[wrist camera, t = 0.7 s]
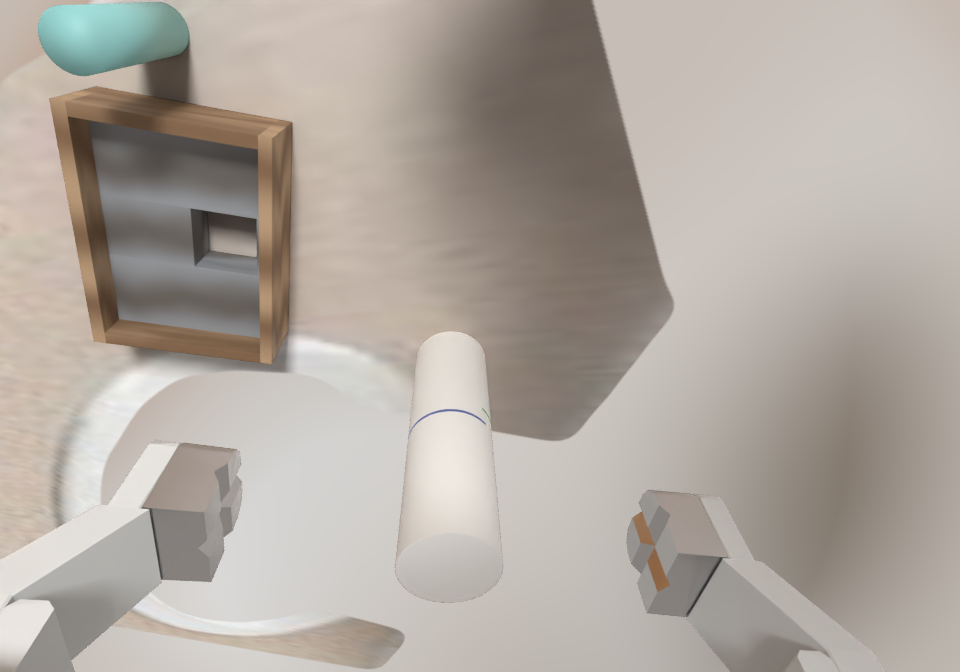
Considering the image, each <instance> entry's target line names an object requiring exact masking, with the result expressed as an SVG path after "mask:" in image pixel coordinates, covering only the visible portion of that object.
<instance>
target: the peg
mask: <svg viewBox="0 0 960 672" xmlns="http://www.w3.org/2000/svg"><path fill="white" fill-rule="evenodd" d="M38 35H39V39H40V42H41V45H42V47H43V49H44V51H45V52H46V54H47V55H48V56H49V58H50V59H51V60H52V61H53V62H54V63H55V64H56V65H57V66H59V67H60V68H61V69H63V70H65V71H67V72H69V73H71V74H74V75H78V76H89V75H94V74H98V73H102V72H107V71H111V70H115V69H120V68H124V67H129V66H133V65H137V64H142V63H146V62H150V61H155V60H159V59H163V58H168V57H172V56H176V55H179V54H181V53H182V52H183V51H184V50H185V49H186V47H187V45H188V42H189V31H188V27H187V24H186V22H185V20H184V18H183V17H182V16H181V14H180V13H179V12H178V11H177V10H176V9H174V8H173V7H172V6H170V5H168V4H165V3H162V2H142V3H113V4H84V5H57V6H53V7H50V8H49V9H47V10H46V11H44V13H43V14H42V15H41V17H40V20H39V23H38Z"/></svg>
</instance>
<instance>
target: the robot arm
mask: <svg viewBox="0 0 960 672" xmlns="http://www.w3.org/2000/svg"><path fill="white" fill-rule="evenodd" d="M240 465H241V458H240V451H238V450H237V449H231V448H223V447H214V446H206V445H198V444H190V443H176V442H169V441H161V440H155V441H153V442H152V443H150V444H149V445H148V446H147V447H146V449H145V450H144V452H143V453H142V455H141V456H140V457H139V459H138V460H137V462H136V463H135V465H134V466H133V468H132V469H131V471H130V472H129V474H128V475H127V477H126V478H125V480H124V481H123V482H122V484H121V485H120V487H119V488H118V490H117V491H116V493H115V494H114V496H113V497H112V499H111V500H110V502H109V503H108V505H97V506H95V507H93V508H92V509H90V510H88V511H86V512H85V513H83V514H81V515H79V516H77V517H76V518H74V519H72V520H70V521H69V522H67V523H65V524H63V525H61V526H60V527H58V528H56V529H54V530H53V531H51V532H49V533H47V534H45V535H44V536H42V537H40V538H38V539H37V540H35V541H33V542H31V543H30V544H28V545H26V546H24V547H22V548H21V549H19V550H17V551H15V552H14V553H12V554H10V555H8V556H6V557H5V558H3V559H1V560H0V672H75V671H74V668H73V665H72V662H71V660H72V659H73V658H74V657H76V656H77V655H78V654H79V653H80V652H81V651H83V650H84V649H85V648H86V647H87V646H88V645H90V644H91V643H92V642H93V641H94V640H95V639H96V638H98V637H99V636H100V635H101V634H102V633H104V632H105V631H106V630H107V629H108V628H109V627H110V626H112V625H113V624H114V623H115V622H116V621H117V620H119V619H120V618H121V617H122V616H123V615H124V614H126V613H127V612H128V611H129V610H130V609H131V608H133V607H134V606H135V605H136V604H137V603H138V602H140V601H141V600H142V599H143V598H144V597H145V596H146V595H148V594H149V593H150V592H151V591H152V590H153V589H154V588H156V587H157V586H158V585H159V584H160V583H161V580H180V581H204V582H211V581H212V579H213V577H214V574H215V572H216V569H217V567H218V564H219V562H220V560H221V557H222V555H223V553H224V539H223V537H225V536H226V535H227V534H229V533H230V532H231V531H233V528H234V526H235V523H236V520H237V518H238V514H239V510H240V506H241V500H242V481H241V480H240V479H239V478H238V477H237V476H236V475H237V473H238V470H239V468H240ZM639 504H640V507H641V510H642V512H640V513H639V514H637V515H636V516H634V517H633V518H632V520H631V523H630V525H629V528H628V533H627V549H628V554H629V558H630V561H631V564H632V565H633V566H634V567H635V568H636V569H637V570H638V571H639V572H640V573H641V576H640V578H639V581H638V583H637V584H638V587H639V590H640V594H641V596H642V600H643V603H644V606H645V609H646V612H647V613H652V614H661V615H671V616H681V617H688V618H687V620H688V621H689V623H690V624H691V625H692V626H693V627H694V629H695V630H696V631H697V632H698V633H699V634H700V636H701V637H702V638H703V639H704V640H705V642H706V643H707V644H708V645H709V647H710V648H711V649H712V650H713V651H714V653H715V654H716V655H717V656H718V657H719V658H720V660H721V661H722V662H723V663H724V664H725V666H726V667H727V668H728V669H729V670H730V671H731V672H885V671H884V669H883V667H882V666H881V664H880V662H879V661H878V659H877V658H876V656H875V654H874V653H873V652H871V651H870V650H869V649H868V648H866V647H865V646H864V645H863V644H862V643H860V642H859V641H858V640H857V639H856V638H854V637H853V636H852V635H851V634H849V633H848V632H847V631H846V630H844V629H843V628H842V627H841V626H840V625H838V624H837V623H836V622H835V621H833V620H832V619H831V618H830V617H829V616H827V615H826V614H825V613H824V612H823V611H821V610H820V609H819V608H818V607H816V606H815V605H814V604H813V603H812V602H810V601H809V600H808V599H807V598H805V597H804V596H803V595H802V594H800V593H799V592H798V591H797V590H796V589H794V588H793V587H792V586H791V585H790V584H788V583H787V582H786V581H785V580H783V579H782V578H781V577H780V576H779V575H777V574H776V573H775V572H774V571H772V570H771V569H770V568H769V567H768V566H766V565H765V564H764V563H763V562H760V561H754V559H753V557H752V555H751V553H750V551H749V549H748V547H747V546H746V544H745V542H744V540H743V538H742V536H741V534H740V532H739V531H738V529H737V527H736V525H735V523H734V522H733V520H732V518H731V516H730V514H729V512H728V510H727V509H726V506H725V505H724V503H723V501H722V500H721V499H720V498H719V497H718V496H712V495H700V494H689V493H677V492H666V491H655V490H647V491H646V492H645V493H644V494H643V496H642V498H641V500H640V502H639Z"/></svg>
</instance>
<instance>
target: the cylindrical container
mask: <svg viewBox="0 0 960 672" xmlns="http://www.w3.org/2000/svg"><path fill="white" fill-rule="evenodd" d="M502 571H503V559H502V548H501V536H500V525H499V513H498V501H497V490H496V479H495V467H494V456H493V444H492V432H491V420H490V408H489V396H488V384H487V371H486V359H485V354H484V351H483V349H482V347H481V345H480V344H479V343H478V342H477V341H476V340H475V339H474V338H472V337H471V336H469V335H467V334H464V333H461V332H456V331H447V332H441V333H438V334H435V335H433V336H431V337H430V338H428V339H427V340H426V341H425V342H424V343H423V344H422V345H421V347H420V349H419V351H418V354H417V359H416V369H415V379H414V389H413V399H412V408H411V418H410V427H409V437H408V447H407V457H406V466H405V476H404V487H403V497H402V506H401V516H400V525H399V536H398V545H397V554H396V564H395V572H396V576H397V578H398V581H399V582H400V583H401V585H402V586H403V587H404V588H405V589H406V590H407V591H409V592H410V593H412V594H414V595H415V596H418V597H420V598H423V599H426V600H430V601H434V602H442V603H445V602H446V603H450V602H451V603H453V602H461V601H466V600H470V599H473V598H476V597H478V596H481V595H483V594H484V593H486V592H488V591H489V590H490V589H491V588H493V587H494V586H495V585H496V584H497V582H498V581H499V579H500V577H501V575H502Z"/></svg>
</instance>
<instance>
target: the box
mask: <svg viewBox="0 0 960 672" xmlns="http://www.w3.org/2000/svg"><path fill="white" fill-rule="evenodd" d="M49 100H50V105H51V111H52V116H53V122H54V127H55V133H56V138H57V143H58V149H59V154H60V160H61V165H62V171H63V176H64V181H65V187H66V192H67V198H68V203H69V209H70V214H71V220H72V225H73V230H74V236H75V241H76V247H77V252H78V258H79V263H80V269H81V274H82V279H83V285H84V290H85V296H86V301H87V307H88V312H89V317H90V323H91V328H92V334H93V339H94V342H102V343H110V344H118V345H125V346H133V347H141V348H149V349H156V350H164V351H172V352H180V353H188V354H195V355H203V356H211V357H219V358H227V359H234V360H242V361H250V362H258V363H266V364H272V363H273V361H274V359H275V356H276V354H277V352H278V350H279V348H280V346H281V344H282V342H283V340H284V338H285V336H286V334H287V332H288V316H289V263H290V211H291V158H292V122H289V121H283V120H278V119H272V118H267V117H261V116H256V115H250V114H245V113H239V112H234V111H228V110H223V109H217V108H212V107H206V106H201V105H195V104H190V103H184V102H179V101H173V100H168V99H162V98H157V97H151V96H146V95H140V94H135V93H129V92H124V91H118V90H113V89H107V88H102V87H96V86H95V87H92V88H88V89H84V90H80V91H76V92H73V93H69V94H65V95H61V96H57V97H54V98H50V99H49ZM207 211H210V212H217V213H223V214H229V215H235V216H242V217H248V218H254V219H257V258H256V257H249V256H242V255H236V254H229V253H223V252H216V251H210V248H209V231H208V213H207Z"/></svg>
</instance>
